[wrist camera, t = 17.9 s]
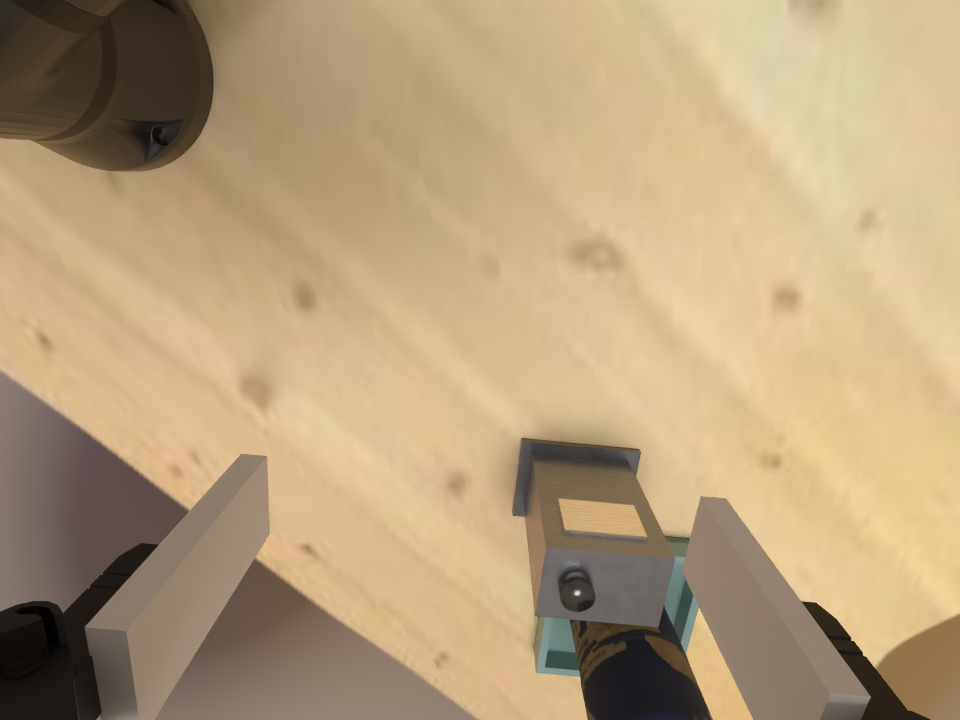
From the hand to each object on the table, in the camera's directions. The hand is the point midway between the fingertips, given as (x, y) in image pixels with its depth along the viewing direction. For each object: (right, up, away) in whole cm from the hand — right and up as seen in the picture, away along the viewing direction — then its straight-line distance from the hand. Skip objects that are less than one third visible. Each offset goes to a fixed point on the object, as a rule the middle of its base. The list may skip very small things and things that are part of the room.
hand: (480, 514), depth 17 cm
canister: (+14, -20, +39) cm, 46 cm away
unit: (+9, -7, +36) cm, 37 cm away
